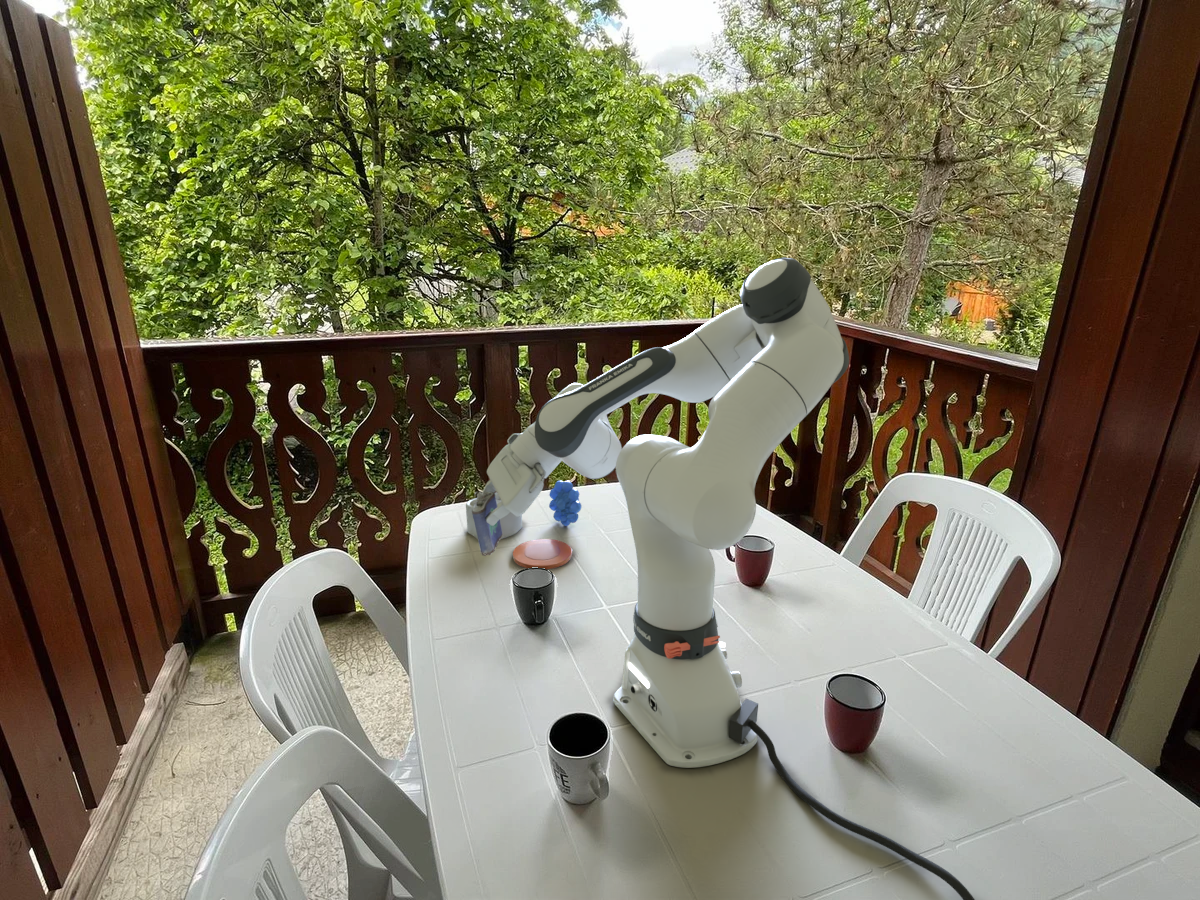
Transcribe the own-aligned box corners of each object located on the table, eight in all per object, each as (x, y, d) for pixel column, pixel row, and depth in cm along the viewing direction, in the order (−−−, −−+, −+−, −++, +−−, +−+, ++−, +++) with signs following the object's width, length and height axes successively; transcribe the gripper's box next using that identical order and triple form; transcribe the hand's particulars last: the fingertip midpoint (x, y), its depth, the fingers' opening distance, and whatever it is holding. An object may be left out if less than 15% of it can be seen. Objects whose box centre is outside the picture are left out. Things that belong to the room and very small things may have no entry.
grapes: (594, 528, 154) (593, 482, 150) (571, 536, 150) (571, 488, 146) (565, 513, 162) (564, 469, 159) (543, 520, 158) (542, 475, 155)
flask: (492, 555, 115) (480, 501, 111) (477, 557, 115) (464, 503, 112) (505, 532, 123) (494, 481, 120) (490, 534, 124) (479, 483, 120)
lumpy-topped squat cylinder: (462, 529, 153) (460, 496, 151) (508, 515, 161) (507, 483, 159) (484, 544, 146) (482, 509, 143) (531, 528, 154) (530, 495, 151)
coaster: (579, 564, 136) (579, 560, 136) (519, 574, 132) (519, 569, 132) (562, 539, 148) (562, 535, 148) (507, 547, 144) (507, 543, 144)
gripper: (561, 485, 109) (507, 545, 109) (533, 450, 128) (487, 502, 127) (534, 463, 106) (479, 525, 106) (510, 431, 125) (463, 484, 125)
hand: (484, 512), depth 117 cm, fingers closed on flask, 8 cm apart
